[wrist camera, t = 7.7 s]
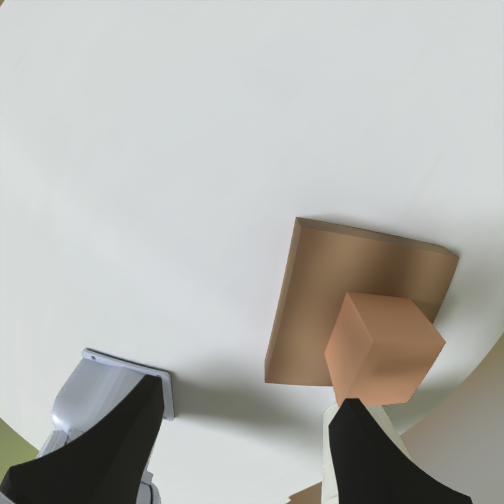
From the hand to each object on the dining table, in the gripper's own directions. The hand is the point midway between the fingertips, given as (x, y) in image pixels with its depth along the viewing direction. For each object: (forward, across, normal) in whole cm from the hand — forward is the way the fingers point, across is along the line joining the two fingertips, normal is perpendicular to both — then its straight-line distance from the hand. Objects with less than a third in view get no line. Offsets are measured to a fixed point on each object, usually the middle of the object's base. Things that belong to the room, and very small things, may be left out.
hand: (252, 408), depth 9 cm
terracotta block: (+8, -8, 0) cm, 11 cm away
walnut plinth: (+11, -8, 0) cm, 13 cm away
